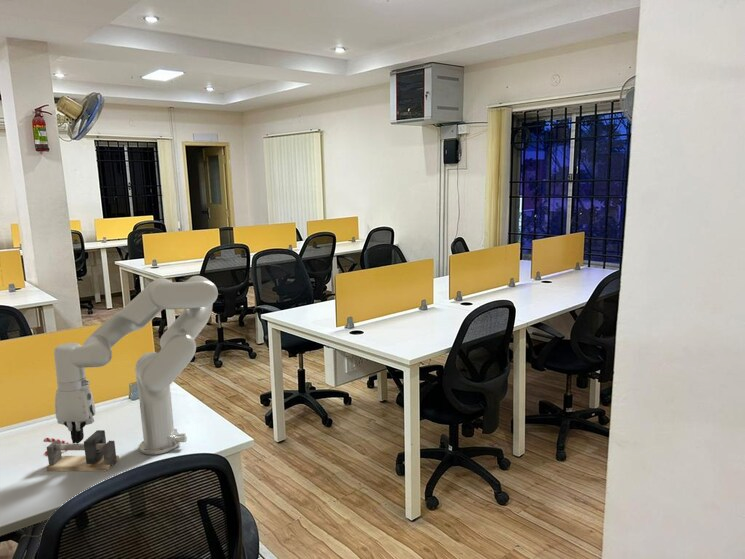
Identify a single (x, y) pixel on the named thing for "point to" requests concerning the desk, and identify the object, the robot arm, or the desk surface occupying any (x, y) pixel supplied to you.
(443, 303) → the desk surface
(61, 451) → the candy cane
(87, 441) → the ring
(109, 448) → the rail fixture
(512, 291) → the desk surface
